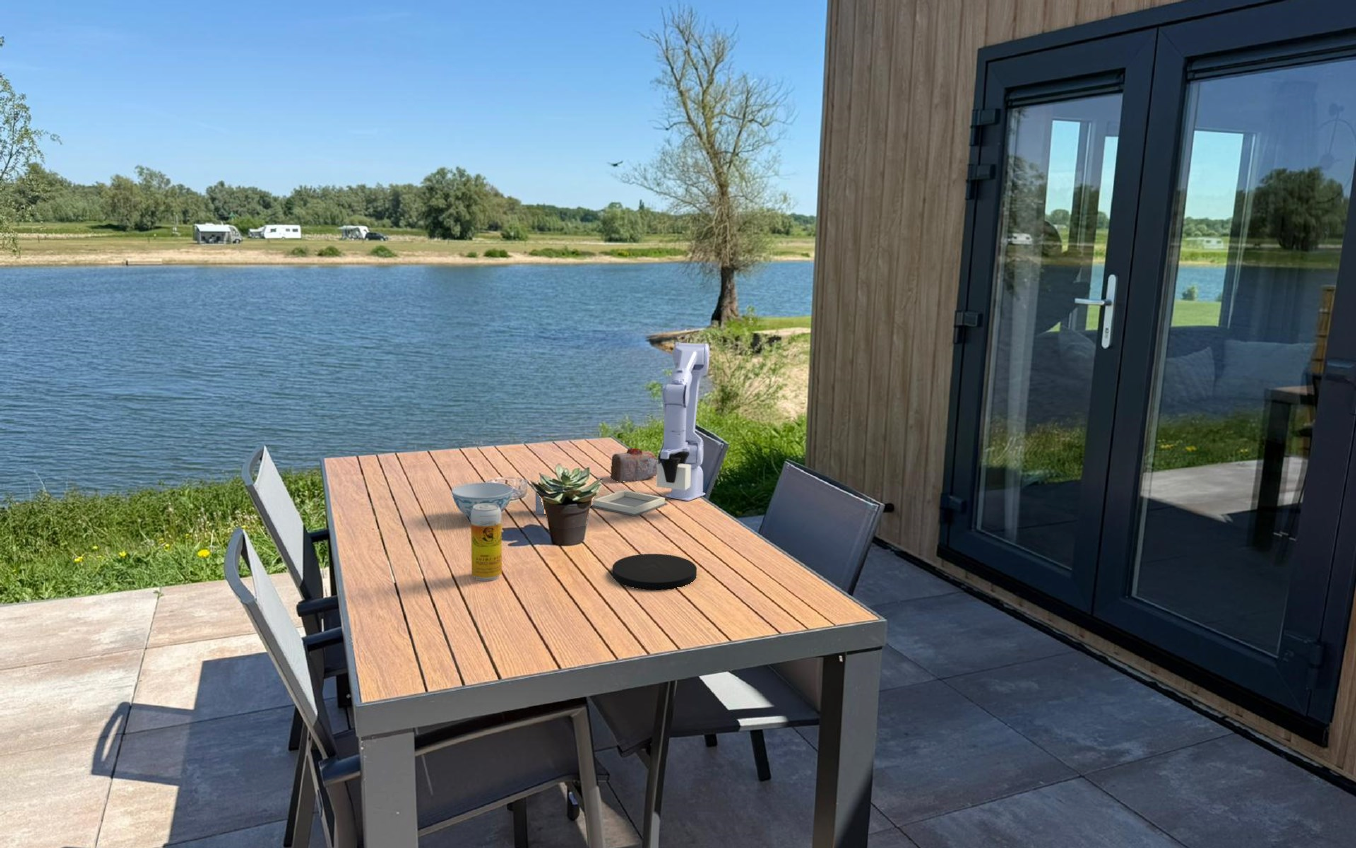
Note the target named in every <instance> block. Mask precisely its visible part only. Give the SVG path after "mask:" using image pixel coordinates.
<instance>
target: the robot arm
mask: <svg viewBox="0 0 1356 848" xmlns="http://www.w3.org/2000/svg"><path fill="white" fill-rule="evenodd" d="M673 345H674V346H673V351H672V359H673V365H674V370H673V371H672V372H671V374H670V378H669V380H668V383H667V385H664V386H663V388H662V395H661V397H662V398H661V400H662V401H661V402H662V413H664V414H663V415H664V417H663V420H664V421H663V445H662V448H661V450H660V455H659V456H658V461H659V462H660V463H661V464H662V466H663V469H664V474H665V478H666V482H669V483H674V482H675V479H676V472H677V467H678V464H679V463H680V464H689V465H691V482H690V487H689V488H688V489H686V490H679V489H671V492H670V493H667V494H665V495H664V498H671V499H676V500H680V501H685V502H690V501H692V500H695V499H698V498H699V497H702V496H705V495H706V493H705V492H703V491H704V471H703V469H702V467H701V465H703V461H704V440H703V438H702V437H701V436H700V435H699V434H697V433H696V420H697V412H698V411H697V410H698V403H699V402H698V399H699V389H700V383H701V379H702V377H704V376H706V375H707V374H708V371H709V364H710V354H711V352H710V350H711V348H710V345H709V344H708V343H694V342H693V343H690V342H689V343H688V342H678V341H677V342H675V344H673Z"/></svg>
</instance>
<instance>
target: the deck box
mask: <svg viewBox="0 0 1356 848" xmlns="http://www.w3.org/2000/svg"><path fill="white" fill-rule="evenodd" d="M690 482H691V465H689V464H680V463H679V464H678V467H677V472H676V479H675V482H674V483H669V482H666V478H665V474H664V469H663V466H662V464H661V462H660V463H659V462H658V464H657V475H656V487H658V488H662V489H663V488H665V489H671V490H672V489H679V490H686V489H688V488H689V487H690Z"/></svg>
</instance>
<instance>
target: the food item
mask: <svg viewBox="0 0 1356 848" xmlns="http://www.w3.org/2000/svg"><path fill="white" fill-rule="evenodd" d="M657 464H659V459H658V458H657V456H655V455H654V453H653V452H652V451H650V450H647V451H642V449H640V448H638V447H637V448H633V447H631V448H628V449H627V450H626V452H618V453H614V454H612V457H611V466H610V479H611V480H612V479H613V480H612V481H614V480H615V482H617V481H618V482H621V483H624V482H623V481H629V482H636V481H638V482H641V481H644V480H643V479H646V480H651V479H654V478H655V477H657ZM618 482H617V483H618Z"/></svg>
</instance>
